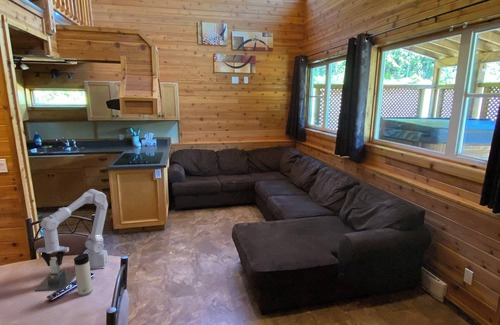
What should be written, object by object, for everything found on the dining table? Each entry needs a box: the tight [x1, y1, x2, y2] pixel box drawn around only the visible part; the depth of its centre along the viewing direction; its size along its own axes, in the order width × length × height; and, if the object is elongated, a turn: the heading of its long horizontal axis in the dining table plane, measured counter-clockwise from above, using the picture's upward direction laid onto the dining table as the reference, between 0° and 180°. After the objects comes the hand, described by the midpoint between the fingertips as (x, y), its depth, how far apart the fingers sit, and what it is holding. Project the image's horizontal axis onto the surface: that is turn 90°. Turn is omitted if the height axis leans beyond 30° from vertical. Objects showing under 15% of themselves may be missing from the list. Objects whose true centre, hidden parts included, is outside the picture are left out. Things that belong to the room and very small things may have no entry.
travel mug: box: [73, 253, 93, 297], centre depth 148 cm, size 6×7×20 cm
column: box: [49, 257, 61, 275], centre depth 156 cm, size 3×3×10 cm
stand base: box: [34, 268, 76, 292], centre depth 157 cm, size 14×14×6 cm
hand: (54, 264), depth 155 cm, fingers open, 4 cm apart
